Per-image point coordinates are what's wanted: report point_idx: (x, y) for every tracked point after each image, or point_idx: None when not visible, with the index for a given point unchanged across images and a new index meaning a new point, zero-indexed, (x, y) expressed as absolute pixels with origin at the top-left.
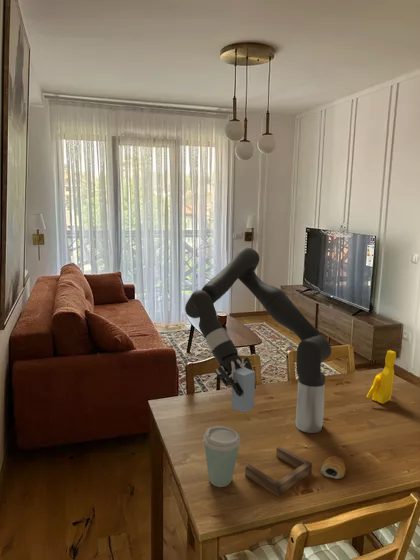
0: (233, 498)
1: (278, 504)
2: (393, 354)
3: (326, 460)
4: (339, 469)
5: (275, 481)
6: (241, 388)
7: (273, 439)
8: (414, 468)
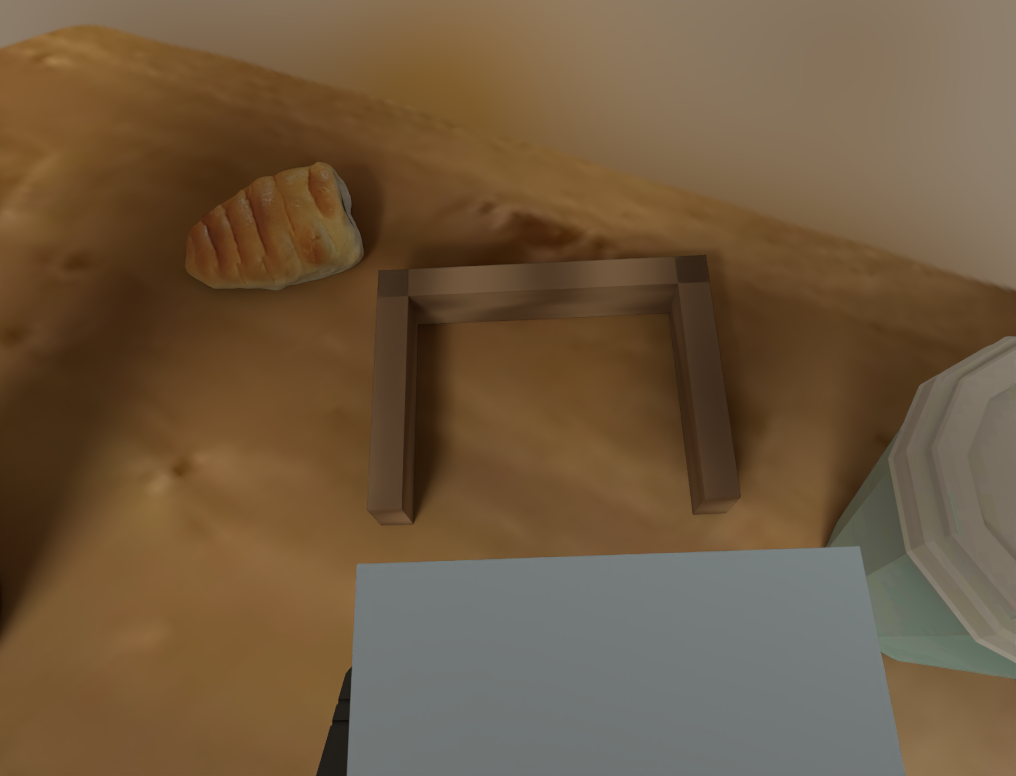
0: None
1: (734, 251)
2: None
3: (287, 244)
4: (311, 168)
5: (687, 288)
6: None
7: (243, 688)
8: (4, 49)
